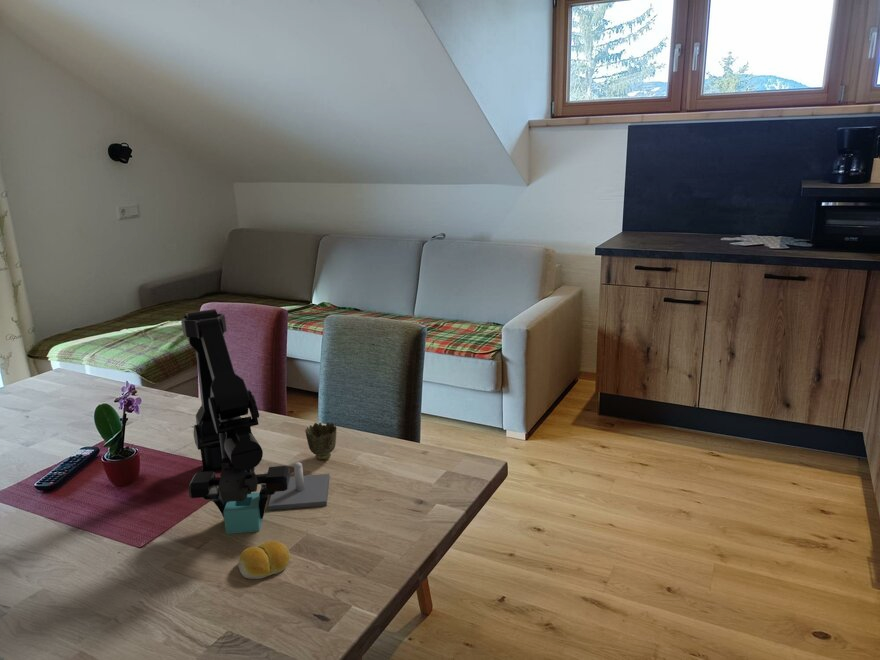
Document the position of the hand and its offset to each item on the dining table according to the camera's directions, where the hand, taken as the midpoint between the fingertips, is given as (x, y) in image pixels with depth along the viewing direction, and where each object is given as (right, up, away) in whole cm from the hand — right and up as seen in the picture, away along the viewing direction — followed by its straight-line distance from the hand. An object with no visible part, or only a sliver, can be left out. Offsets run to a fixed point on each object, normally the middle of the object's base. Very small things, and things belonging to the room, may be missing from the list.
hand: (245, 519), depth 132 cm
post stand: (+9, +2, +11) cm, 15 cm away
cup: (+11, +7, +27) cm, 30 cm away
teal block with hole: (0, -1, 0) cm, 1 cm away
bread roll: (+7, -5, -13) cm, 16 cm away
